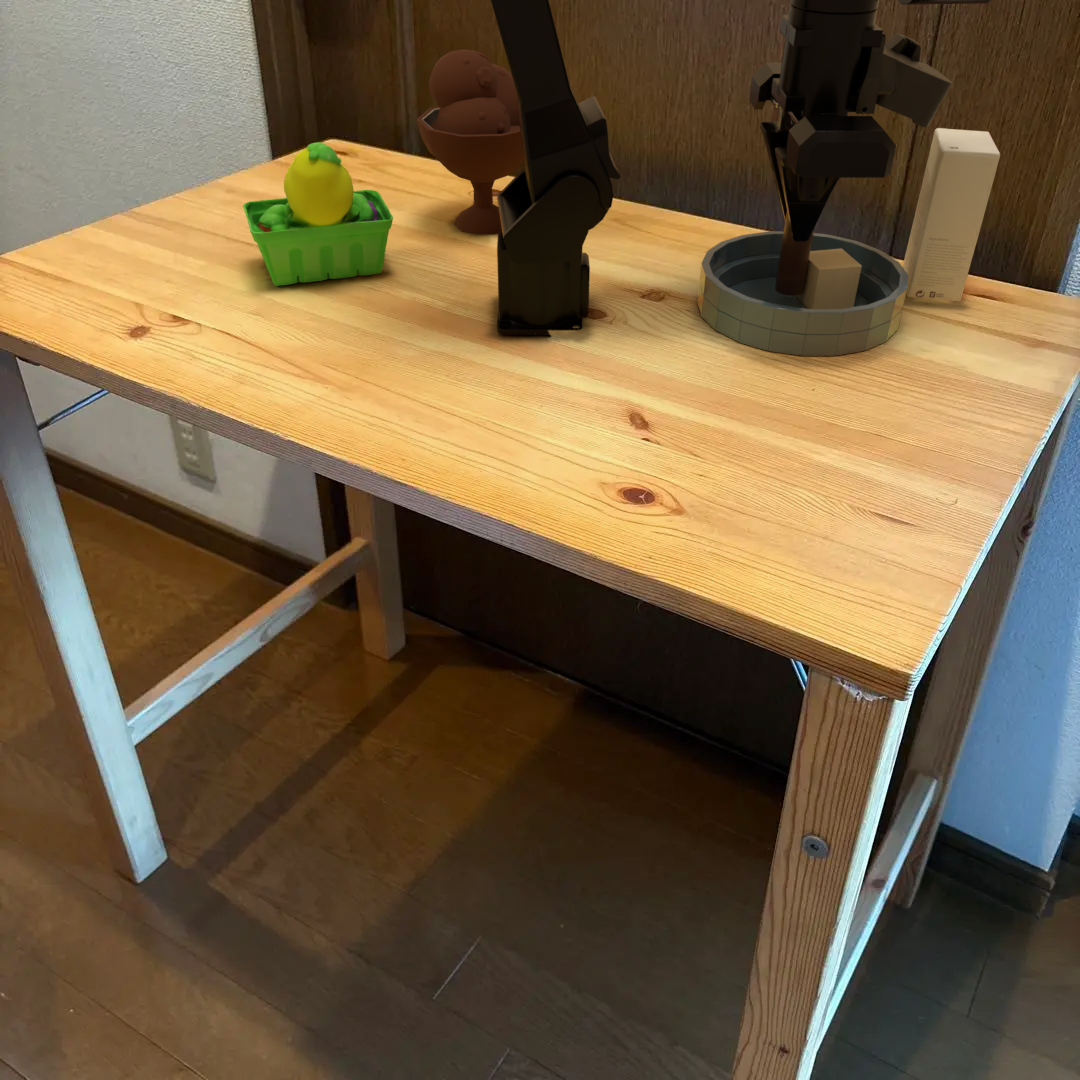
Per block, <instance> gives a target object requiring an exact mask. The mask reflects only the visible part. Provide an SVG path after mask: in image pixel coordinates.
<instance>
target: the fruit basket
mask: <svg viewBox="0 0 1080 1080" xmlns="http://www.w3.org/2000/svg"><path fill="white" fill-rule="evenodd" d="M283 191H284V194H285V197H281V198H274V199H273V198H272V199H260V200H252V201H251V200H250V201H247V202H245V203H243V205H242V208H243V211H244V214H245V217H246V220H247V225H248V228H249V233H250V234H251V237H252V239H253V241H254V242H255V243H256V244H257V247H258V250H259V252H260V254H261V256H262V259H263V261H264V264H265V266H266V269H267V271H268V274H269V276H270V278H271V281H272V283H273V285H274V286H276V287H279V286H288V285H294V284H298V283H311V282H322V281H325V280H329V279H330V280H337V279H346V278H347V279H348V278H353V277H357V276H372V275H379V274H381V273H382V272H383V267H384V261H385V256H386V255H385V254H386V250H387V243H388V237H389V232H390V230H391V228H392V225H393V220H394V216H393V214H392V213H391V211H390V209H389V207H388V206H387V204H386V202H385V200H384V199H383V196H382V195H381V194H380V192H379V191H378V190H373V189H361V190H359V189H358V190H354V185H353V180H352V176H351V175H350V172H349V170H348V169H347V168H346V167H345V165H343V164H342V159H341V158H340V157H338V155H337V152H336V151H335V150H334V149H333V148H332V147H331V146H330V145H327V144H325V143H323V142H312V143H310V144H307V146H306V147H305V148H304V149H302V150H300V151H299V152H298V153H297V154H296V156H295V157H294V159H293V161H292V162H291V164H290V165H289V167H288V168H287V171H286V173H285V175H284V179H283Z"/></svg>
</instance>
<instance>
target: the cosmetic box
mask: <svg viewBox="0 0 1080 1080" xmlns="http://www.w3.org/2000/svg"><path fill="white" fill-rule="evenodd" d="M1000 158H1001V153H1000V151H999V149H998V147H997V145H996V144H995V141H994V139H993V138H992V136H991V134H990V132H989V131H984V130H969V129H956V128H955V129H953V128H945V127H943V128H942V127H936V129H934V132H933V136H932V141H931V144H930V150H929V153H928V158H927V162H926V166H925V170H924V173H923V178H922V183H921V186H920V191H919V195H918V199H917V204H916V209H915V214H914V217H913V221H912V226H911V230H910V234H909V238H908V243H907V247H906V251H905V254H904V259H903V263H902V267H903V269H904V270H905V271H906V273H907V274H908V286H907V292H906V297H908V298H916V299H925V300H926V299H927V300H936V301H937V300H938V301H952V302H961V301H962V297H963V294H964V291H965V286H966V282H967V279H968V275H969V271H970V268H971V264H972V260H973V257H974V254H975V249H976V246H977V242H978V239H979V234H980V232H981V228H982V224H983V220H984V216H985V213H986V210H987V206H988V202H989V198H990V194H991V191H992V187H993V185H994V184H993V183H994V180H995V177H996V172H997V170H998V165H999V161H1000Z"/></svg>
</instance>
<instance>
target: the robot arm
mask: <svg viewBox="0 0 1080 1080" xmlns="http://www.w3.org/2000/svg"><path fill="white" fill-rule="evenodd" d="M992 1H993V0H898V2H899V4H901V5H903V6H907V5H971V4H972V5H973V4H975V5H976V4H981V5H982V4H989V3H991V2H992ZM490 2H491V6H492V10H493V13H494V17H495V21H496V25H497V27H498V31H499V34H500V35H499V36H500V38H501V41H502V46H503V49H504V53H505V56H506V59H507V63H508V67H509V70H510V72H511V74H512V77H513V81H514V84H515V88H516V92H517V98H518V109H519V121H520V133H521V142H522V151H523V160H524V161H523V168H522V169H521V170H520V171H519V173H517V175H515V176H514V178H512V180H511V181H509V183H508V184H507V185H506V186H505V187H504V188H503V189H502V190H501V191H500V192H499V193H498V194H497V197H496V199H497V207H499V213H500V220H501V227H502V232H498V233H497V243H496V258H497V259H496V260H497V262H496V263H497V264H496V265H497V316H496V333H497V334H498V335H504V336H506V335H508V336H510V335H513V336H514V335H515V336H516V335H518V336H520V335H522V336H523V335H525V336H526V335H528V336H529V335H531V336H532V335H534V336H537V335H539V336H541V335H547V336H549V335H551V333H550V332H549V331H580V330H583V328H584V325H583V324H584V323H583V318H587V317H588V316H589V308H590V307H589V305H590V303H589V301H590V277H591V276H590V273H591V267H590V258H589V257H590V256H589V254H588V253H587V252H583V247H584V244H585V242H586V239H587V236H588V234H589V231H591V230H592V229H594V228H595V227H597V225H599V224H600V223H601V222H602V221H603V220H604V218H605V217H606V215H607V213H608V212H609V210H610V209H611V207H612V205H613V201H614V200H613V199H614V192H613V191H614V190H613V184H612V180H611V179H614V180H619V179H620V178H621V174H620V171H619V169H618V167H617V165H616V162H615V160H614V158H613V156H612V154H611V152H610V146H609V132H608V123H607V122H608V121H607V119H606V116H605V114H604V113H603V111H602V108H601V106H600V104H599V102H598V99H597V97H596V96H594V95H592V96H589V97H588V98H586V99H584V100H582V101H581V102H579V103H578V101H577V99H576V96H575V95H574V92H573V90H572V87H571V85H570V80H569V76H568V72H567V68H566V64H565V60H564V56H563V53H562V48H561V44H560V41H559V36H558V32H557V29H556V25H555V20H554V16H553V12H552V8H551V4H550V1H549V0H490ZM879 4H880V0H790V2H789V7H788V13H787V14H781V15H780V16H781V17H780V23H779V32H780V34H782V36H783V37H784V44H783V52H782V59H781V62H765V63H764V64H762V65H761V66H760V67H758V69H757V70H756V71H755V72H754V73H753V74H752V75H751V80H750V90H749V97H748V98H749V99H748V101H749V102H750V104H751V105H752V107H753V109H754V110H764V107H765V104H766V102H767V101H769V102H771V104H772V105H773V107H772V116H771V120H762V121H760V123H759V128H760V131H761V133H762V138H763V141H764V145H765V148H766V152H767V156H768V160H769V163H770V167H771V171H772V175H773V180H774V182H775V186H776V191H777V194H778V198H779V202H780V207H781V210H782V211H781V212H782V214H783V218H784V221H785V220H786V213H787V212H788V218H789V222H790V227H791V232H792V236H793V239H794V240H795V241H807V240H809V238H810V236H811V234H812V232H813V230H814V231H815V228H816V225H817V223H818V221H819V220H820V217H821V216H822V213H823V211H824V208H825V206H826V205H827V202H828V200H829V198H830V197H831V195H832V193H833V190H834V189H835V187H836V185H837V183H838V181H840V178H843V179H846V178H847V179H849V178H850V179H853V178H854V179H855V178H856V179H860V178H862V179H863V178H864V179H865V178H866V179H869V178H871V179H872V178H873V179H875V178H876V179H878V178H881V179H882V178H886V177H888V176H890V175H891V174H892V169H893V164H894V160H895V155H896V150H897V144H895V142H894V141H893V139H892V138H891V137H890V135H889V134H888V133H887V132H886V130H885V129H884V128H883V127H882V126H881V125H880V124H879V123H878V122H877V120H876V119H875V118H874V117H873V116H872V115H875V111H876V107H877V105H878V106H879V107H882V108H884V109H886V110H888V111H891V112H893V113H896V114H898V115H900V116H903V117H906V118H908V119H911V121H912V123H913V124H914V125H916V126H918V127H920V128H921V127H922V128H925V129H926V128H929V126H930V124H931V122H932V120H933V119H934V117H935V115H936V113H938V110H939V108H940V107H941V105H942V103H943V101H944V100H945V98H946V97H947V94H948V92H949V91H950V89H951V88H952V86H953V84H954V83H953V82H952V81H951V80H950V79H949V78H948V77H946V76H945V75H944V74H943V73H942V72H940V71H939V70H937V69H936V68H934V67H932V66H930V65H929V64H928V63H926V62H924V61H922V62H921V61H920V60H921V53H922V52H921V51H922V46H921V44H919V43H918V42H917V41H916V40H914V39H913V38H911V37H909V36H905V35H903V34H901V33H898V32H896V33H895V34H894V35H893V36H892V37H890V38H889V39H888V40H886V39H887V38H886V37H887V36H886V33H884V30H883V29H882V28H881V27H880V26H878V25H877V24H876V20H877V14H878V10H879V6H880V5H879ZM849 113H855V114H857V115H849Z"/></svg>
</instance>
